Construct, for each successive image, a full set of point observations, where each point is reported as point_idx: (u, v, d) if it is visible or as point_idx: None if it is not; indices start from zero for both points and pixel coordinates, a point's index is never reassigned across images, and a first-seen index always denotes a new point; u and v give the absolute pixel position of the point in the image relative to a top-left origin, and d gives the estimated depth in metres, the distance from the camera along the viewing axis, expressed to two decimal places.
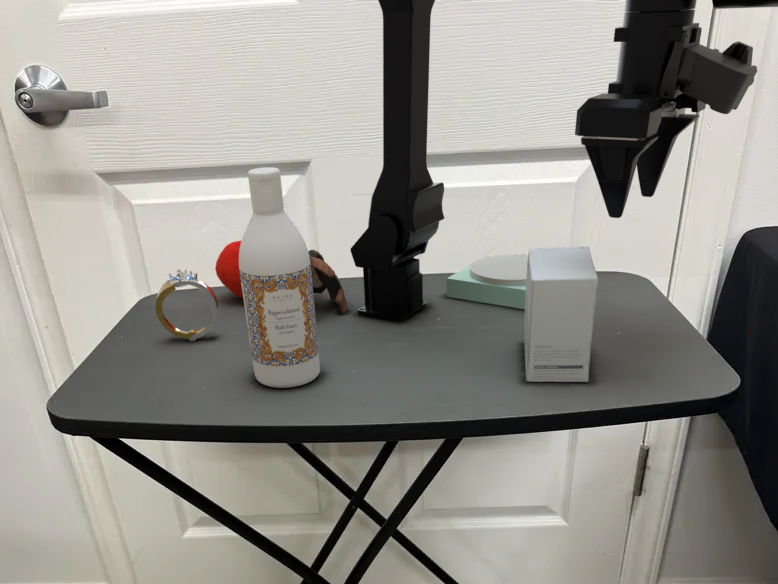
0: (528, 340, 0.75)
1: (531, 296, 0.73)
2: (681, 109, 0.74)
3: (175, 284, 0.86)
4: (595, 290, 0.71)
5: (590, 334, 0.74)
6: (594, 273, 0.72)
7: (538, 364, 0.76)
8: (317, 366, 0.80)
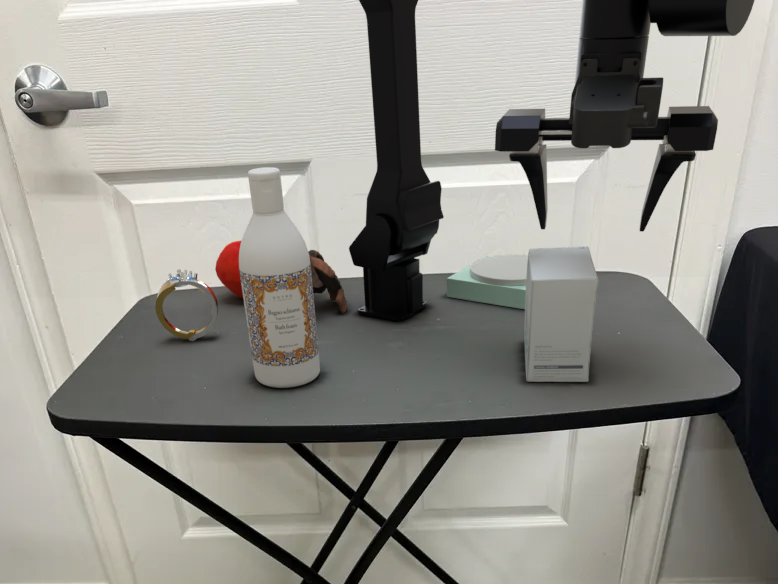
0: (528, 340, 0.75)
1: (531, 296, 0.73)
2: None
3: (175, 284, 0.86)
4: (595, 290, 0.71)
5: (590, 334, 0.74)
6: (594, 273, 0.72)
7: (537, 364, 0.76)
8: (317, 366, 0.80)
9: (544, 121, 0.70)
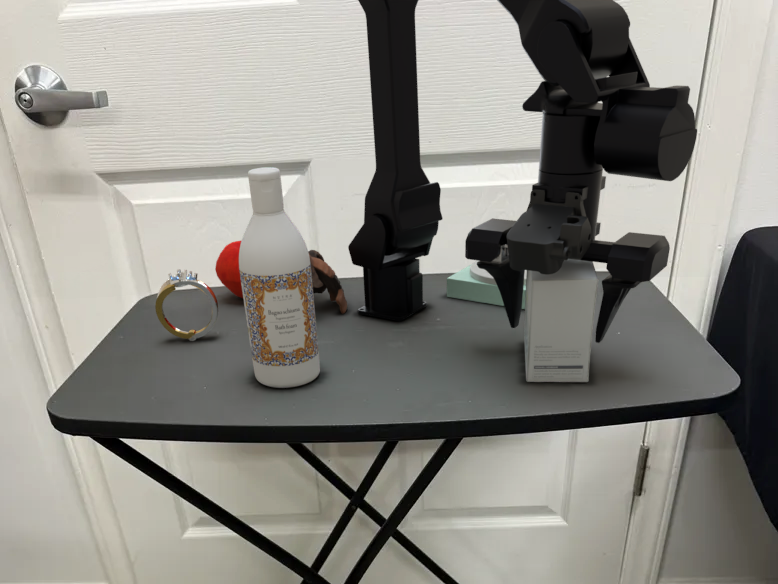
0: (528, 340, 0.75)
1: (531, 296, 0.73)
2: None
3: (175, 284, 0.86)
4: (595, 290, 0.71)
5: (590, 334, 0.74)
6: (594, 273, 0.72)
7: (538, 364, 0.76)
8: (317, 366, 0.80)
9: None
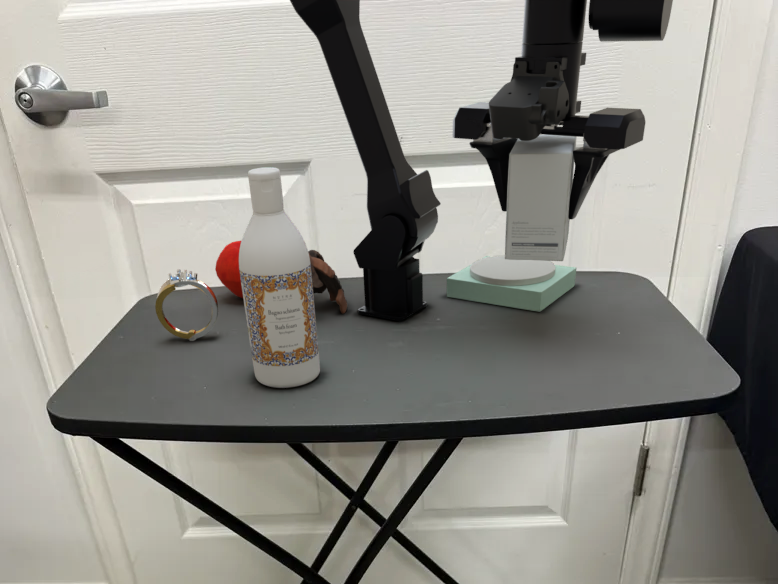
0: (506, 216, 0.79)
1: (509, 170, 0.77)
2: None
3: (175, 284, 0.86)
4: (569, 165, 0.75)
5: (565, 211, 0.77)
6: (570, 149, 0.75)
7: (515, 241, 0.80)
8: (317, 366, 0.80)
9: None
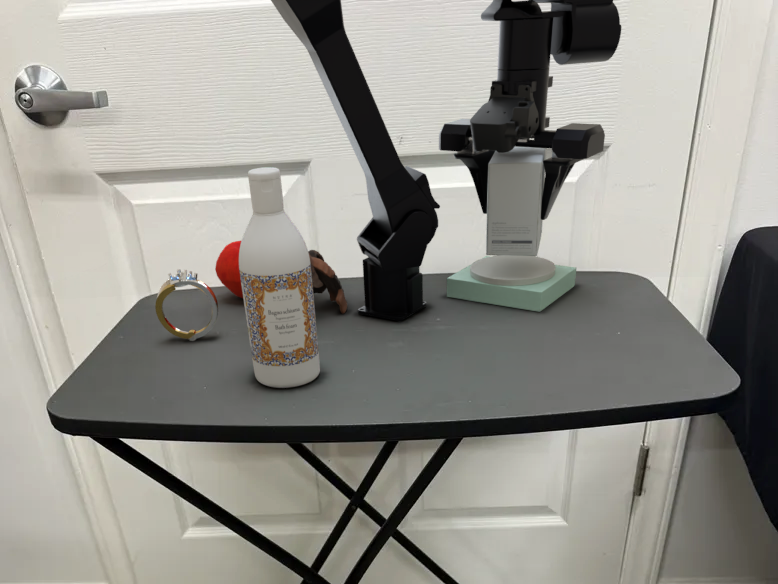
0: (487, 218, 0.91)
1: (488, 178, 0.88)
2: None
3: (175, 284, 0.86)
4: (540, 172, 0.87)
5: (537, 212, 0.89)
6: (540, 159, 0.87)
7: (495, 239, 0.92)
8: (317, 366, 0.80)
9: None
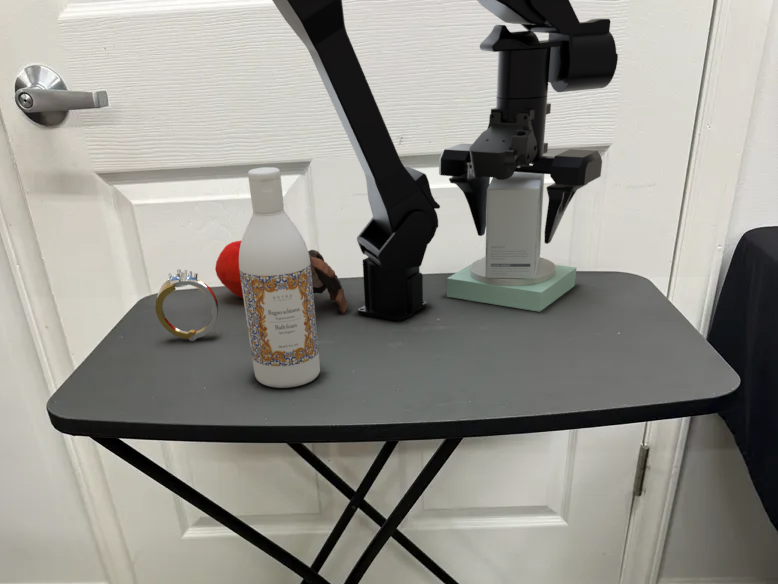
0: (486, 242, 0.93)
1: (487, 203, 0.90)
2: None
3: (175, 284, 0.86)
4: (538, 198, 0.88)
5: (535, 236, 0.91)
6: (538, 185, 0.89)
7: (494, 262, 0.94)
8: (317, 366, 0.80)
9: None
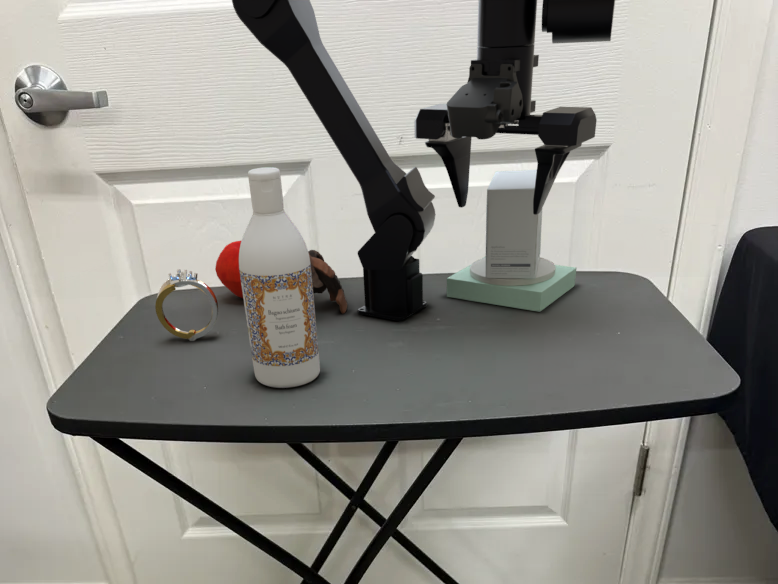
0: (486, 242, 0.93)
1: (487, 203, 0.90)
2: None
3: (175, 284, 0.86)
4: None
5: (535, 236, 0.91)
6: None
7: (494, 262, 0.94)
8: (317, 366, 0.80)
9: None
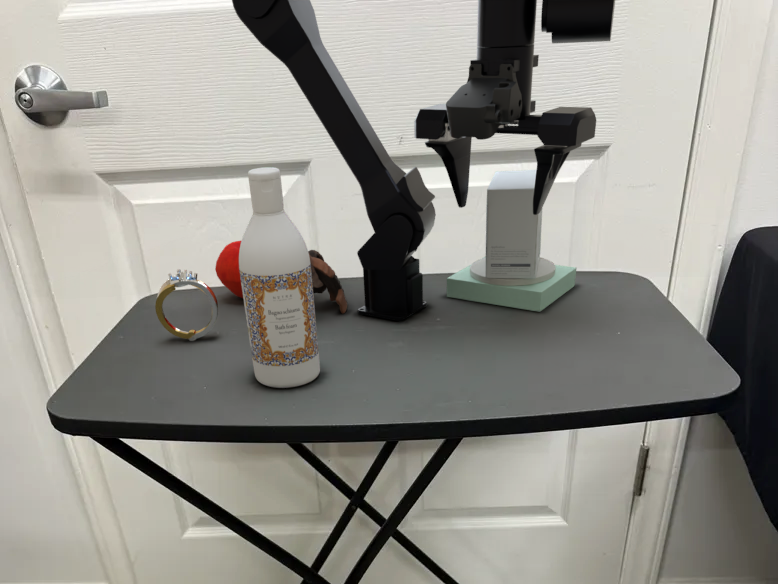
0: (486, 242, 0.93)
1: (487, 203, 0.90)
2: None
3: (175, 284, 0.86)
4: None
5: (535, 236, 0.91)
6: None
7: (494, 262, 0.94)
8: (317, 366, 0.80)
9: None
